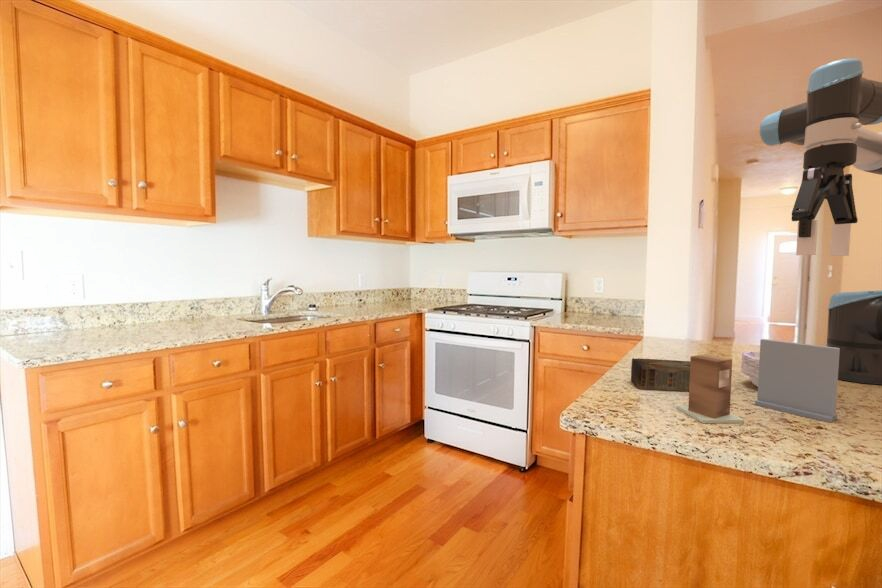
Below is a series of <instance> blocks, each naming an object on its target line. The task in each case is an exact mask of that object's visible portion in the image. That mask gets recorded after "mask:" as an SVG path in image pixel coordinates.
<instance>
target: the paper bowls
mask: <svg viewBox="0 0 882 588" xmlns="http://www.w3.org/2000/svg"><path fill="white" fill-rule="evenodd" d="M759 360H760V350H750V351H749V350H748V351H744V352H742V355H741V367H740V368H741V369H740V370H741V373H742V374H744V375H746V376H748V377H749V379H750V381H751V383H752V384H753V385H754V386H755V387H757V388H758V379H759Z"/></svg>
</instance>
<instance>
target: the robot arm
mask: <svg viewBox="0 0 882 588" xmlns="http://www.w3.org/2000/svg"><path fill="white" fill-rule="evenodd" d="M863 69H864V68H863V62H862V60H861V59H858V58H855V57H854V58H844V59H837V60H834V61H830V62H829V63H826V64H823V65H821V66H819V67H817V68H816V69H814V70H812V72H811V73H810V74H809V79H808V85H807V90H806V94H807V95H806V102H803V103H800V104H797V105H794V106H791V107H787V108H783V109H780V110H778V111H775V112H773V113H771V114H768V115H766V116H765V117H764V118H763V120H762V121H761V123H760V128H759V135H760V138H761V141H762V142H763V144H765V145H767V146H769V147H772V146H777V145H778V146H779V145H780V146H781V145H783V144H786V143H791V144H794V145H797V146H801V147H803V148H804V149H805V150H806V151H804V152H803V164H802V165H803V166H802V168H803V171H802V178H801V179H802V180H801V184H800V187H799V189H798V192H797V195H796V198H795V201H794V205H793V208H792V211H791V221H792V222H797V234H796V235H797V238H796V254H795V255H796V256H816V254H817V241H818V239H817V238H818V224H819V223H818V222H819V220H815V219H816V217H817V215H818V213H819V211H820V209H821V208H822V205H823V203H824V201H825V200H826V201H827V204H828V207H829V211H830V213H831V215H832V219H833V222H834V223H833V224H831V231H830V232H831V233H830V247H829V248H830V249H829V257H845V256H847V257H849V256H850V246H851V245H850V242H851V227H852V226H851V225H852V224H857V223H858V221H859V220H858V219H859V218H858V216H857V211H856V209H857V208H856V204H855V196H854V188H853V175H852V173H846V174H845V173H844V172H845V171H844V169H845V168H846V167H851V166H853V167H854V168H855V169H857V170H860V171H862V172H867V173H871V174H876V175H880V176H882V131H879V132H875V131H873V130H870V129H868V128H864V127H862V126H868V125H869V126H871V125H877V124H880V123H882V81H876V80H872V79H868V78H865V77H863V74H864V70H863ZM827 310H828V314H827V336H826V337H827V338H826V345H825V346H827V347H835V348H840V354H839V369H838V380H840V381H841V380H842V381H847V382H854V383H860V384H868V385H869V384H870V385H882V290H866V291H865V290H861V291H846V292H845V291H844V292H836V293H833V294H832V295H831V296H830V298H829V304H828V308H827Z"/></svg>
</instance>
